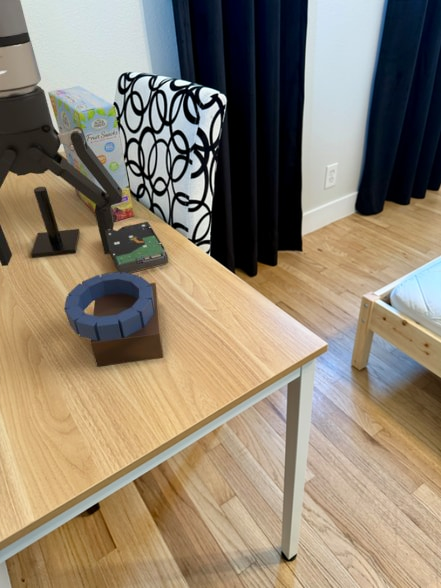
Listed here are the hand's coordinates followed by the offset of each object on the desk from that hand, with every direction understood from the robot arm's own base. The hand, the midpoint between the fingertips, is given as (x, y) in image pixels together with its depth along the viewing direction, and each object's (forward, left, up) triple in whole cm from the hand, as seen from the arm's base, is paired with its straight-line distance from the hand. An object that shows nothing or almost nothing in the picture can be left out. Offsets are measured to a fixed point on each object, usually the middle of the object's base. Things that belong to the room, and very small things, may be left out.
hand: (58, 254), depth 60 cm
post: (-9, +32, -16) cm, 37 cm away
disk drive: (+8, +25, -17) cm, 31 cm away
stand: (+7, 0, -16) cm, 18 cm away
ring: (+5, 0, -11) cm, 13 cm away
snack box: (0, +50, -17) cm, 52 cm away
